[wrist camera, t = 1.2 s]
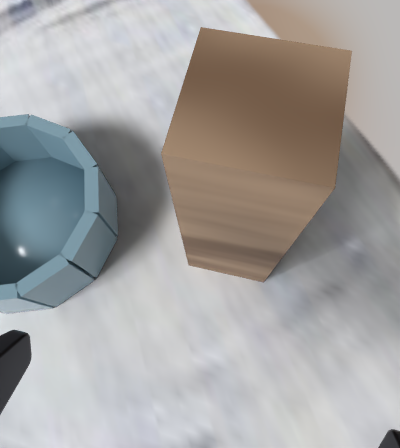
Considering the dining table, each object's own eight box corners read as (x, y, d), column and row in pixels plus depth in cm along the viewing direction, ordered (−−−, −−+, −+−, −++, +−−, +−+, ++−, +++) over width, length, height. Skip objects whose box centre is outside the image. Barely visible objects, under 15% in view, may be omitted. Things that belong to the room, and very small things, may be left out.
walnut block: (263, 282, 23) (335, 187, 10) (188, 265, 23) (161, 153, 10) (276, 212, 25) (351, 50, 11) (205, 197, 25) (200, 27, 12)
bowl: (-6, 350, 22) (-58, 349, 18) (-76, 211, 25) (-133, 183, 21) (149, 241, 24) (136, 218, 20) (66, 127, 27) (40, 86, 23)
